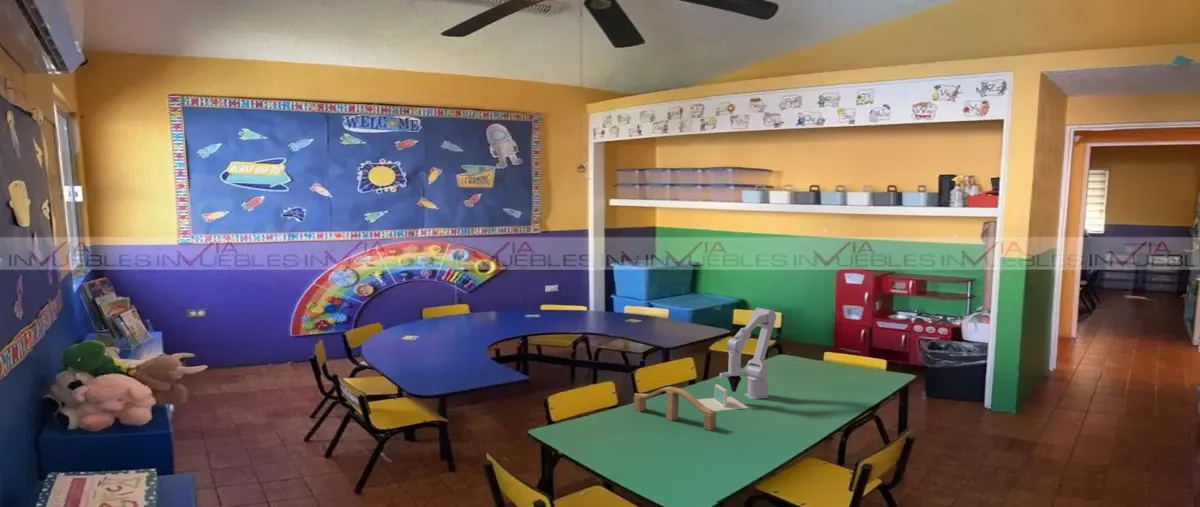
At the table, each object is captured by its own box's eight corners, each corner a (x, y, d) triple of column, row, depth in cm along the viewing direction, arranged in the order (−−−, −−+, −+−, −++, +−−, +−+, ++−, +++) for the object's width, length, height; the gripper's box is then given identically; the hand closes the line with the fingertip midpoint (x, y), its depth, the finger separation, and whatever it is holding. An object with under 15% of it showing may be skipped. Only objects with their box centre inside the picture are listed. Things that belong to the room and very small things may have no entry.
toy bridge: (716, 428, 308) (717, 396, 307) (709, 431, 304) (710, 399, 302) (637, 407, 335) (638, 377, 333) (630, 410, 331) (630, 380, 329)
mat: (731, 397, 351) (731, 396, 351) (748, 408, 334) (748, 407, 334) (689, 400, 345) (689, 399, 345) (705, 412, 328) (705, 411, 328)
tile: (717, 400, 345) (717, 384, 344) (726, 406, 335) (727, 390, 335) (714, 400, 345) (714, 384, 344) (723, 407, 335) (723, 390, 334)
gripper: (744, 360, 346) (743, 387, 347) (717, 362, 342) (716, 389, 343) (751, 364, 339) (750, 392, 340) (723, 366, 335) (722, 394, 336)
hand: (733, 391), depth 341 cm, fingers closed
